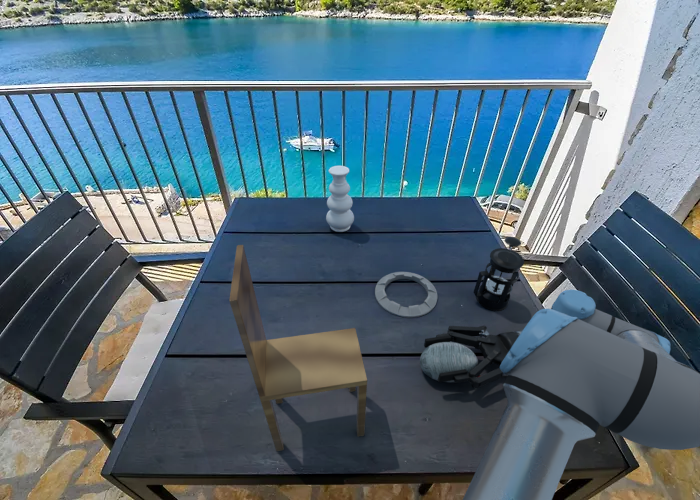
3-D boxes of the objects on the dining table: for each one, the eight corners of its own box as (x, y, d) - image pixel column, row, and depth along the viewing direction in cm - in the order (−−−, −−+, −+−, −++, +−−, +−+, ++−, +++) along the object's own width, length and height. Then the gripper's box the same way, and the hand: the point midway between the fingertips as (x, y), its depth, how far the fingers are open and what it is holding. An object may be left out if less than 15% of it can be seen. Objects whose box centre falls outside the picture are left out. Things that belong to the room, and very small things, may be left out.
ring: (401, 327, 99) (402, 323, 98) (363, 287, 112) (363, 282, 111) (450, 300, 107) (451, 296, 106) (409, 265, 120) (410, 261, 119)
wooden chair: (364, 435, 76) (372, 283, 48) (276, 451, 74) (228, 300, 45) (354, 385, 85) (356, 233, 57) (276, 397, 83) (236, 245, 54)
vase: (356, 221, 142) (357, 164, 126) (350, 237, 134) (350, 177, 118) (330, 218, 144) (328, 161, 128) (323, 233, 136) (319, 174, 120)
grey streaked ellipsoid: (415, 383, 87) (435, 380, 78) (412, 344, 91) (430, 337, 82) (463, 383, 90) (487, 381, 82) (458, 346, 94) (480, 339, 85)
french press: (501, 287, 112) (523, 229, 98) (515, 309, 104) (541, 249, 90) (466, 290, 111) (483, 231, 97) (478, 313, 103) (498, 253, 89)
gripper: (499, 304, 93) (419, 315, 90) (549, 377, 76) (452, 393, 73) (492, 322, 98) (415, 333, 95) (538, 395, 81) (446, 411, 78)
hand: (431, 359), depth 84 cm, fingers closed on grey streaked ellipsoid, 9 cm apart
